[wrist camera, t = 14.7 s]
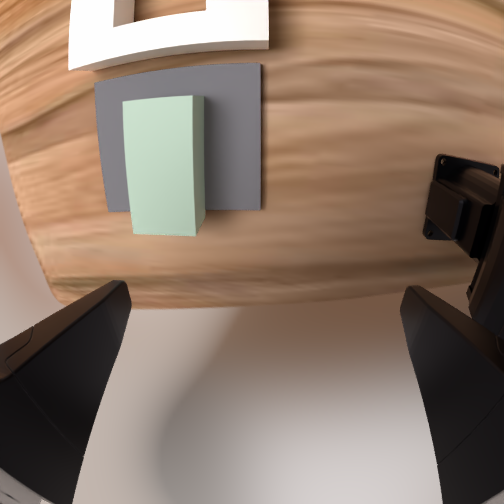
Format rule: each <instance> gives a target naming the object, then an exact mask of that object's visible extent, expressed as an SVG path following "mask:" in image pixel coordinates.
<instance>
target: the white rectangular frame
mask: <svg viewBox="0 0 504 504" xmlns="http://www.w3.org/2000/svg"><path fill="white" fill-rule="evenodd" d="M134 4H135V0H72V3H71V14H70V29H69V70H76V71H96V70H99V69H103V68H107V67H112V66H116V65H121V64H125V63H130V62H135V61H140V60H146V59H152V58H158V57H164V56H171V55H179V54H188V53H197V52H209V51H223V50H253V49H269V16H268V0H206V11H198V12H189V13H182V14H175V15H169V16H163V17H158V18H152V19H147V20H143V21H138V22H134Z"/></svg>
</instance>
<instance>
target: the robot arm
mask: <svg viewBox="0 0 504 504" xmlns="http://www.w3.org/2000/svg"><path fill="white" fill-rule="evenodd" d="M442 159H444V162H443V163H442V164H441V160H442ZM494 170H495V172H494ZM493 172H494V174H493ZM500 173H501V179H499V168H498V167H497V166H495V165H491V164H487V163H483V162H479V161H475V160H470V159H465V158H461V157H456V156H451V155H445V154H439V155H438V156H437V157H436V160H435V168H434V174H433V181H432V182H431V186H430V192H429V198H428V203H427V208H426V219H425V224H424V228H423V235H424V236H425V237H426V238H427V239H431V240H453V241H454V242H455V243H456V244H457V245H458V246H459V247H460V248H461V249H462V250H463V251H464V252H465V253H466V254H467V255H468V256H469V257H470V258H473V259H474V260H475V261H476V262H477V263H478V267H477V270H476V272H475V275H474V278H473V281H472V283H471V285H470V286H469V287H468V290H467V292H466V293H467V297H468V300H469V310H470V314H471V317H472V319H471V318H470V317H468V316H467V315H465V314H464V313H462V312H461V311H459V310H458V309H456V308H454V307H453V306H451V305H450V304H448V303H446V302H445V301H443V300H442V299H440V298H439V297H437V296H435V295H434V294H432V293H430V292H429V291H427V290H426V289H424V288H422V287H421V286H418V285H417V286H408V287H407V288H406V291H405V294H404V297H403V300H402V304H401V307H400V313H401V318H402V323H403V327H404V332H405V336H406V341H407V346H408V350H409V354H410V357H411V361H412V364H413V367H414V371H415V374H416V377H417V381H418V384H419V388H420V392H421V395H422V399H423V402H424V407H425V411H426V415H427V419H428V423H429V427H430V432H431V436H432V441H433V446H434V451H435V456H436V461H437V464H438V465H437V468H438V474H439V479H440V486H441V493H442V500H443V504H504V164H502V165H501V171H500ZM430 230H431V232H430V233H429V234H428V232H429V231H430ZM131 306H132V303H131V298H130V295H129V291H128V287H127V284H126V282H125V281H122V280H113V281H111V282H109V283H107V284H105V285H104V286H102V287H100V288H98V289H96V290H95V291H93V292H91V293H89V294H87V295H86V296H84V297H82V298H80V299H78V300H77V301H75V302H73V303H71V304H70V305H68V306H66V307H64V308H63V309H61V310H59V311H58V312H56V313H54V314H52V315H51V316H49V317H47V318H46V319H44V320H42V321H40V322H39V323H37V324H35V325H34V327H33V326H32V327H30V328H29V329H27V330H25V331H24V332H22V333H20V334H19V335H17V336H15V337H13V338H11V339H9V340H8V341H6V342H4V343H2V344H0V504H40V502H41V499H43V500H45V501H47V502H49V503H51V504H72V502H73V498H74V494H75V489H76V485H77V481H78V477H79V473H80V470H81V466H82V462H83V459H84V457H83V456H84V454H85V451H86V447H87V444H88V440H89V437H90V434H91V431H92V427H93V424H94V421H95V418H96V415H97V411H98V408H99V405H100V402H101V399H102V396H103V394H104V391H105V388H106V385H107V382H108V379H109V377H110V374H111V371H112V368H113V366H114V363H115V360H116V358H117V355H118V352H119V349H120V346H121V343H122V340H123V336H124V332H125V329H126V325H127V321H128V318H129V314H130V311H131Z"/></svg>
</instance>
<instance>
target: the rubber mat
mask: <svg viewBox="0 0 504 504" xmlns="http://www.w3.org/2000/svg"><path fill="white" fill-rule="evenodd" d="M192 95H194V96H204V181H205V210H260V208H261V68H260V63H232V64H213V65H200V66H189V67H180V68H172V69H164V70H157V71H151V72H145V73H139V74H133V75H128V76H123V77H118V78H113V79H109V80H104V81H100V82H96V83H95V105H96V119H97V131H98V141H99V151H100V159H101V167H102V174H103V181H104V188H105V194H106V200H107V206H108V211H109V212H123V211H130V203H129V194H128V184H127V173H126V162H125V147H124V130H123V102H124V101H132V100H140V99H150V98H161V97H174V96H192Z"/></svg>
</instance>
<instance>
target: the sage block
mask: <svg viewBox="0 0 504 504" xmlns="http://www.w3.org/2000/svg"><path fill="white" fill-rule="evenodd" d="M123 130H124V147H125V162H126V173H127V184H128V194H129V203H130V211H131V219H132V226H133V233H134V234H152V235H178V236H196V235H197V233H198V231H199V229H200V227H201V225H202V223H203V221H204V219H205V181H204V96H194V95H192V96H174V97H161V98H150V99H140V100H132V101H124V102H123Z"/></svg>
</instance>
